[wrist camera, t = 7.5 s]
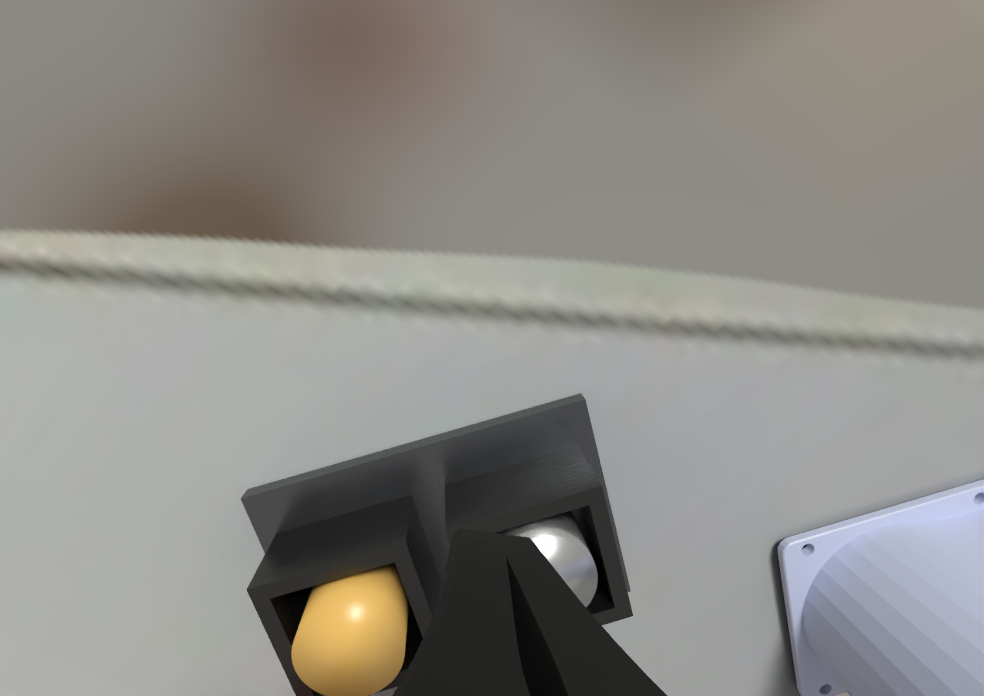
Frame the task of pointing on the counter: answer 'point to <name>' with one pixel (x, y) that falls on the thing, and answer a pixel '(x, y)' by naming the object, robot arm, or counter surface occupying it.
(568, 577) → the steel plunger
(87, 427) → the counter surface
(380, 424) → the counter surface
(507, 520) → the socket block
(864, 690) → the robot arm
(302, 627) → the amber plunger
